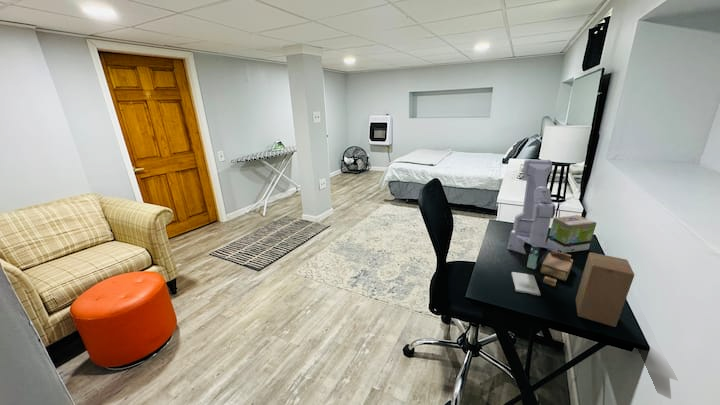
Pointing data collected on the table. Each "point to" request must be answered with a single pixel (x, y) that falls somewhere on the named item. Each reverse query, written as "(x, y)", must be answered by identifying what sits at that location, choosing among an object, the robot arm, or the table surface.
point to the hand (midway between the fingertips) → (532, 261)
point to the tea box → (571, 233)
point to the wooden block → (603, 288)
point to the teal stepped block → (532, 259)
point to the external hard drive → (525, 283)
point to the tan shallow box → (553, 275)
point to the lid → (558, 261)
